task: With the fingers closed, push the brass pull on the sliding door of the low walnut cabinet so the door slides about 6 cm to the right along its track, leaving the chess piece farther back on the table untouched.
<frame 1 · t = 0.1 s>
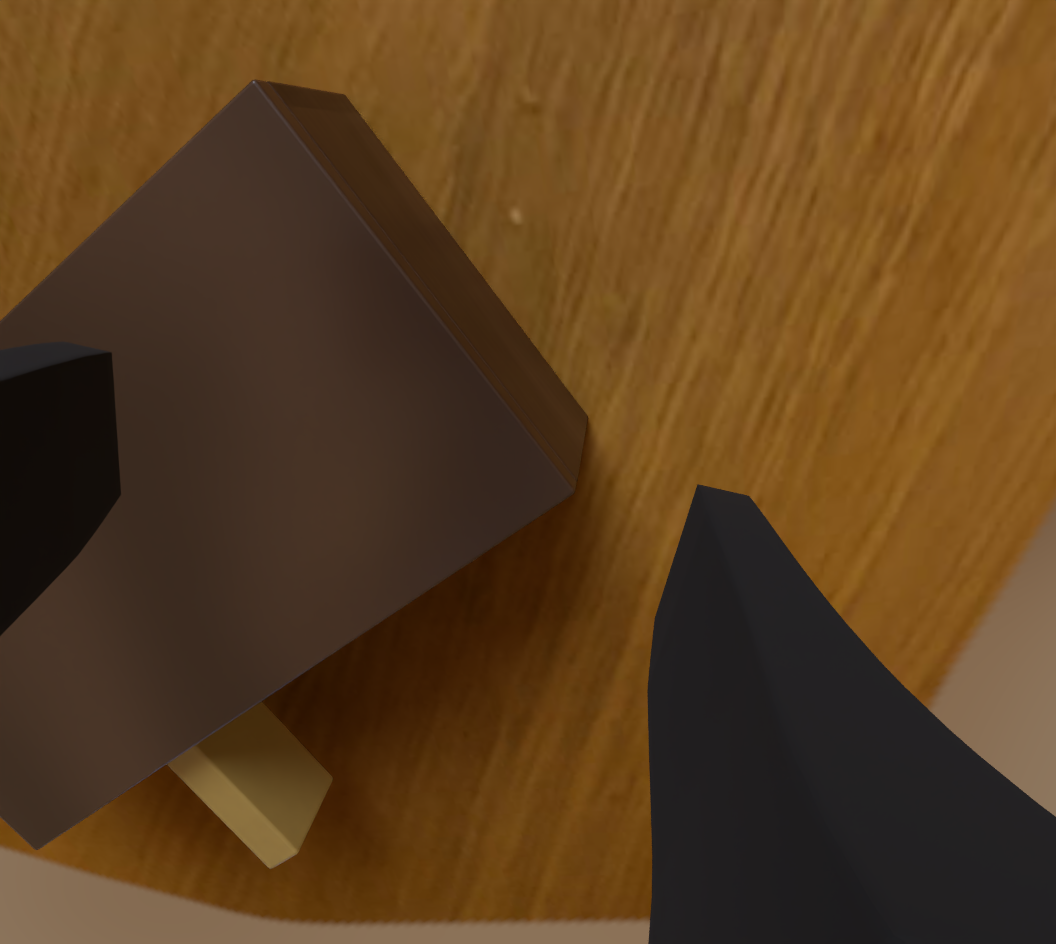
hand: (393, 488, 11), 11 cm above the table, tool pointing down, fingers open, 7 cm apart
sliding door: (253, 744, 23), point 2 cm above the table, slide at 0.0 cm
cabinet: (229, 454, 23), on the table
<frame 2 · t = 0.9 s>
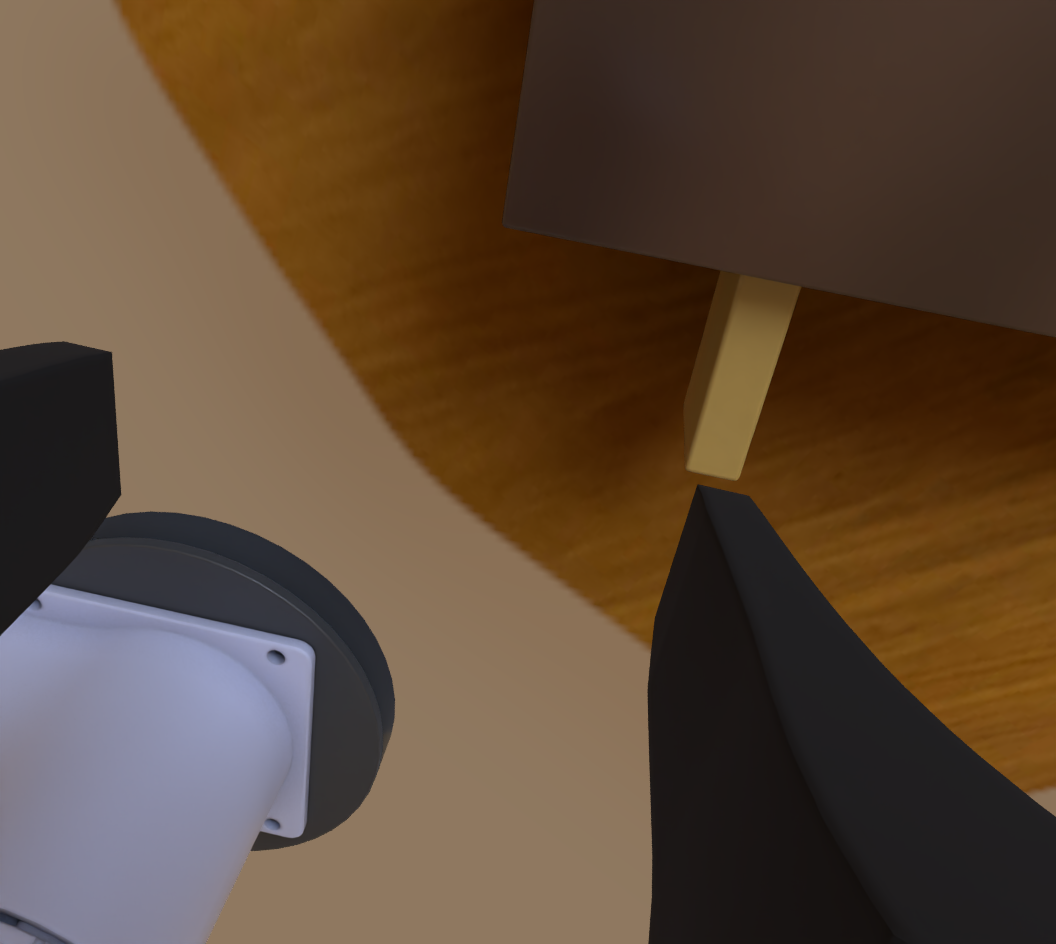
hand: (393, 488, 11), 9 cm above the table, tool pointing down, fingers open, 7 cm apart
sliding door: (739, 320, 17), point 2 cm above the table, slide at 0.0 cm
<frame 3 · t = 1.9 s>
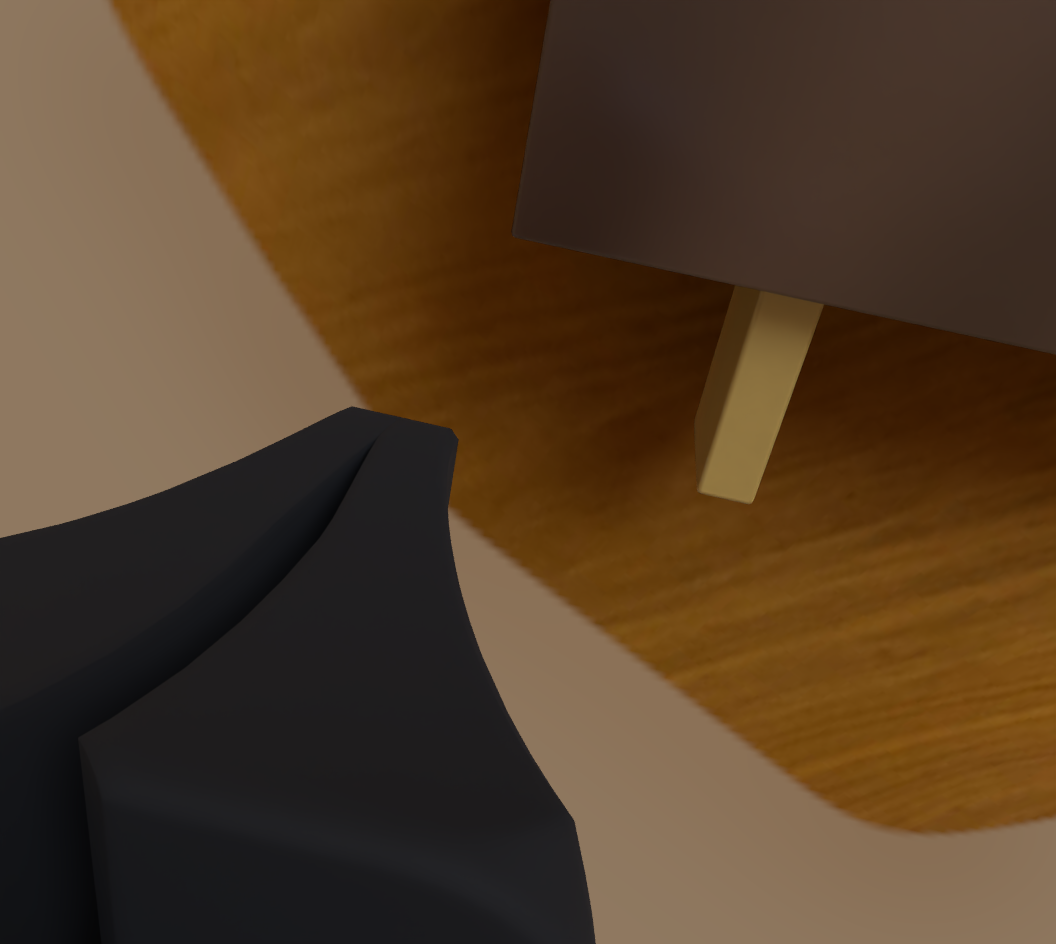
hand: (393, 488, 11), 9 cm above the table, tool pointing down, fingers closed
sliding door: (755, 336, 16), point 2 cm above the table, slide at 0.0 cm
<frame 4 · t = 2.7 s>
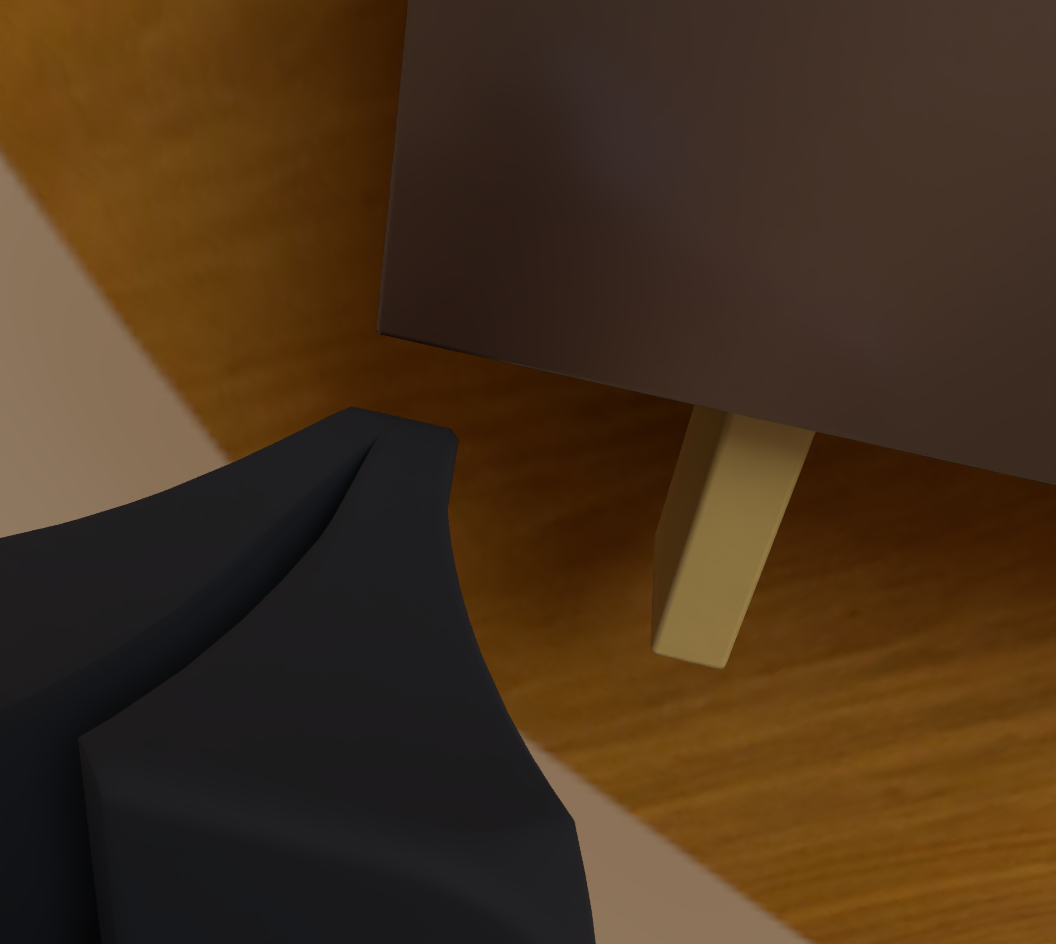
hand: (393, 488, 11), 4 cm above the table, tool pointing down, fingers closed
sliding door: (729, 440, 12), point 2 cm above the table, slide at 0.0 cm
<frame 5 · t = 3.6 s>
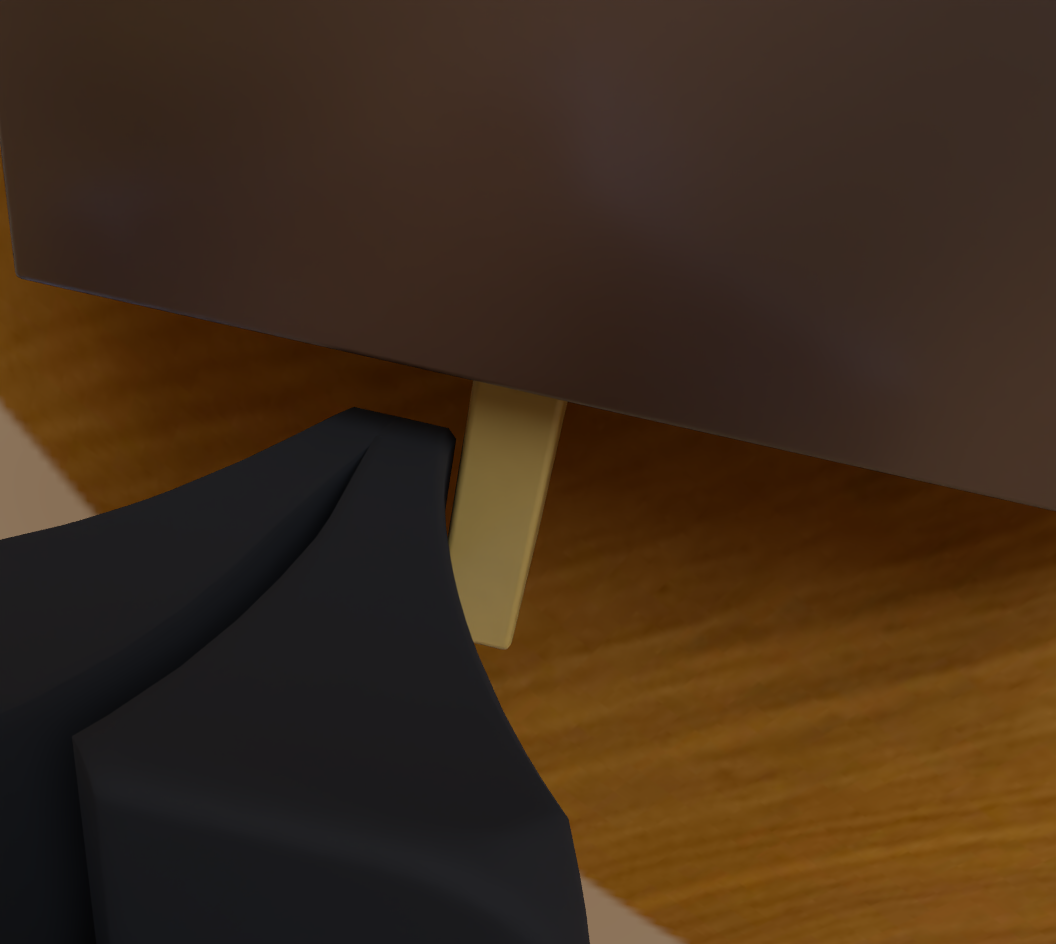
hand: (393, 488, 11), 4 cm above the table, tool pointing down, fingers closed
sliding door: (525, 414, 12), point 2 cm above the table, slide at 0.7 cm, touching gripper
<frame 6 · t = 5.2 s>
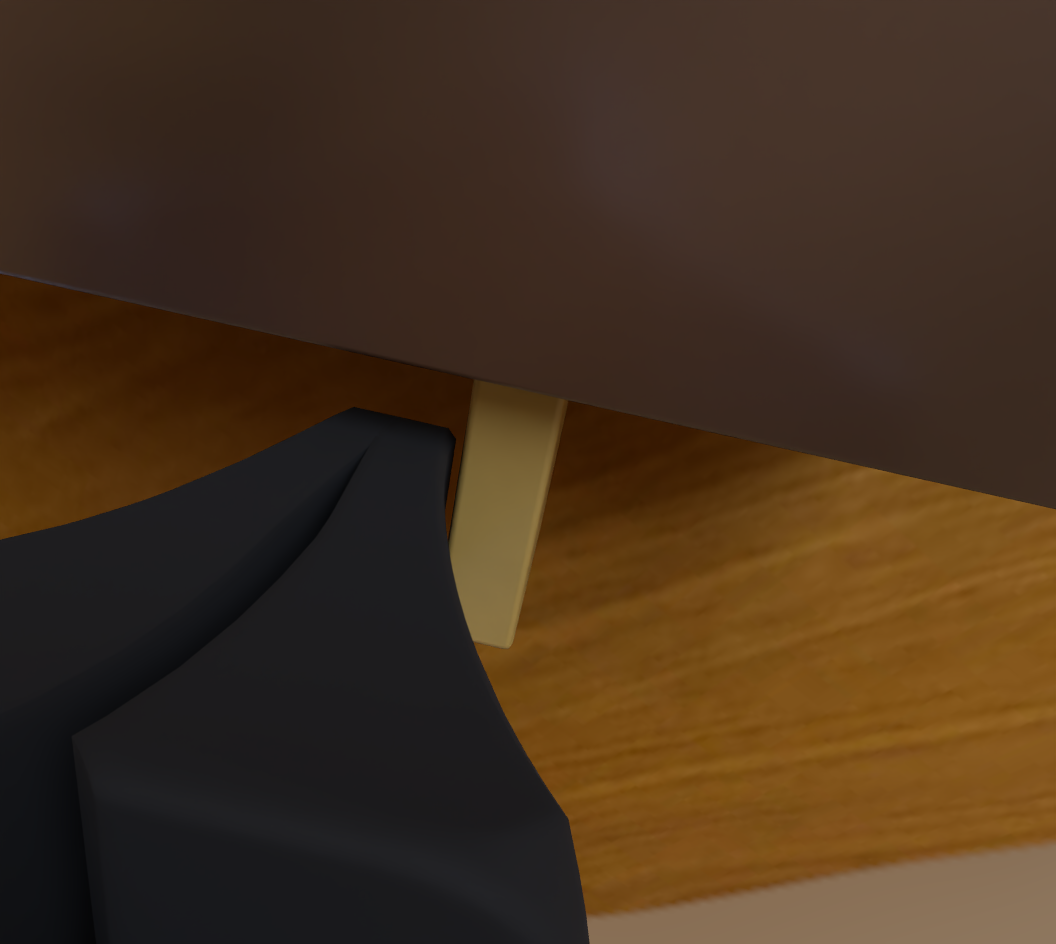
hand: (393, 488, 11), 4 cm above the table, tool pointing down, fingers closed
sliding door: (526, 413, 12), point 2 cm above the table, slide at 6.2 cm, touching gripper
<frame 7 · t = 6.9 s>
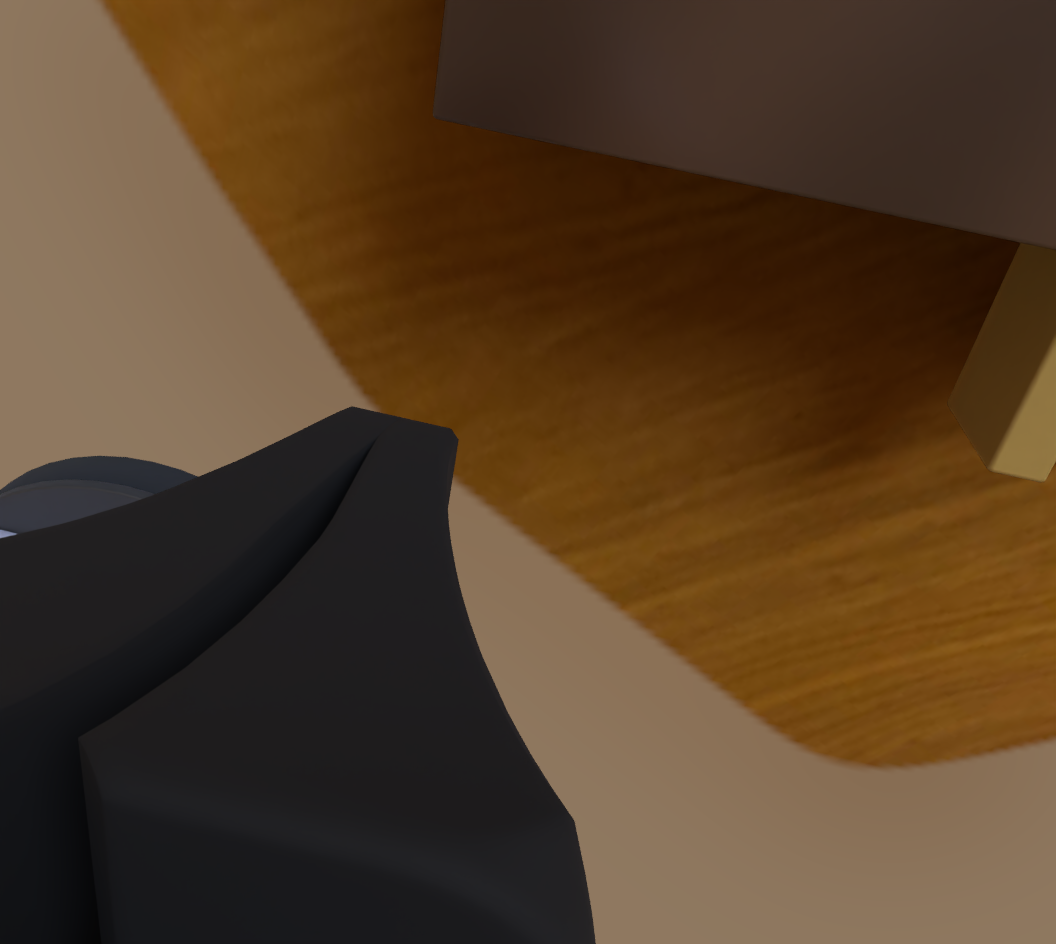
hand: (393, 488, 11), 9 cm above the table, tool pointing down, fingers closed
sliding door: (1036, 313, 16), point 2 cm above the table, slide at 6.2 cm
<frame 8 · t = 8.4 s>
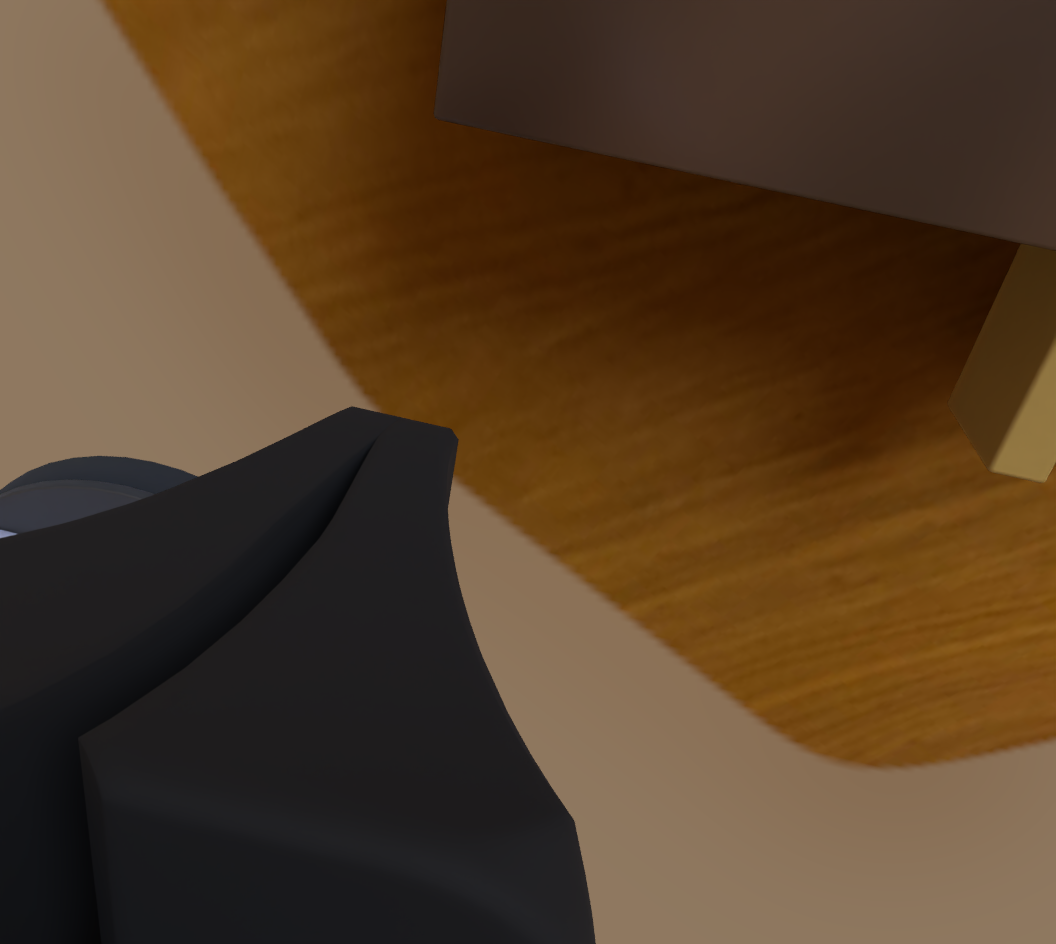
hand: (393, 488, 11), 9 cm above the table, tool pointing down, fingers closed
sliding door: (1037, 314, 16), point 2 cm above the table, slide at 6.2 cm
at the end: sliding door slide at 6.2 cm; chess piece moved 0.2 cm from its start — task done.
